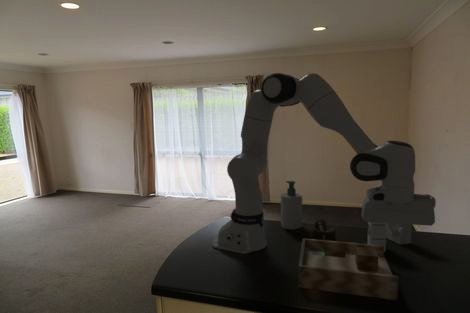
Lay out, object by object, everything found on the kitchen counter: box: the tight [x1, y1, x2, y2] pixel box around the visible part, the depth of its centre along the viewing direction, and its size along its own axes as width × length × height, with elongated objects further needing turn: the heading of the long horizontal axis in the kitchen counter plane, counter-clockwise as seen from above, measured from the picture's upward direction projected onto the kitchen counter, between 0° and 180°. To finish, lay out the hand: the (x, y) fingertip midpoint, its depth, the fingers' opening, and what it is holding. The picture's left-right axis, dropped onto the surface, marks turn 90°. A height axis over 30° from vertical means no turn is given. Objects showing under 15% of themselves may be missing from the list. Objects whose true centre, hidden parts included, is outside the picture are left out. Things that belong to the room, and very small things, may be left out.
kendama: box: [311, 219, 337, 241], centre depth 132 cm, size 6×10×20 cm
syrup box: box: [366, 222, 387, 252], centre depth 120 cm, size 6×6×14 cm
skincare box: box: [386, 223, 412, 246], centre depth 127 cm, size 8×6×15 cm
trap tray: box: [297, 238, 400, 301], centre depth 101 cm, size 28×22×7 cm
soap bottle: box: [280, 180, 303, 231], centre depth 145 cm, size 10×9×22 cm
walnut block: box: [355, 247, 378, 272], centre depth 99 cm, size 6×6×5 cm
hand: (395, 236), depth 95 cm, fingers closed
